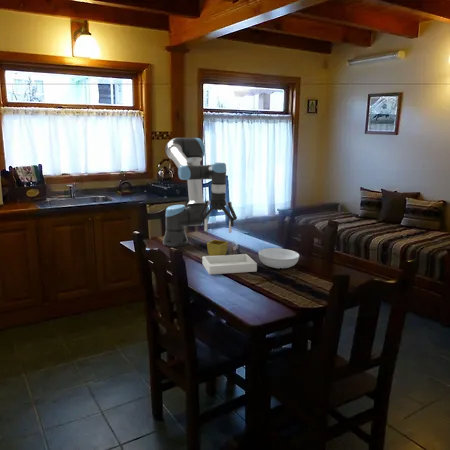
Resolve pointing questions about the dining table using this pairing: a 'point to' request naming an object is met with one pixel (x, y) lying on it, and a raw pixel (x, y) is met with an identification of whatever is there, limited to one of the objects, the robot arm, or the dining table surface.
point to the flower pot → (217, 247)
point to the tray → (229, 264)
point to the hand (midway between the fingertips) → (217, 231)
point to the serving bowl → (278, 257)
